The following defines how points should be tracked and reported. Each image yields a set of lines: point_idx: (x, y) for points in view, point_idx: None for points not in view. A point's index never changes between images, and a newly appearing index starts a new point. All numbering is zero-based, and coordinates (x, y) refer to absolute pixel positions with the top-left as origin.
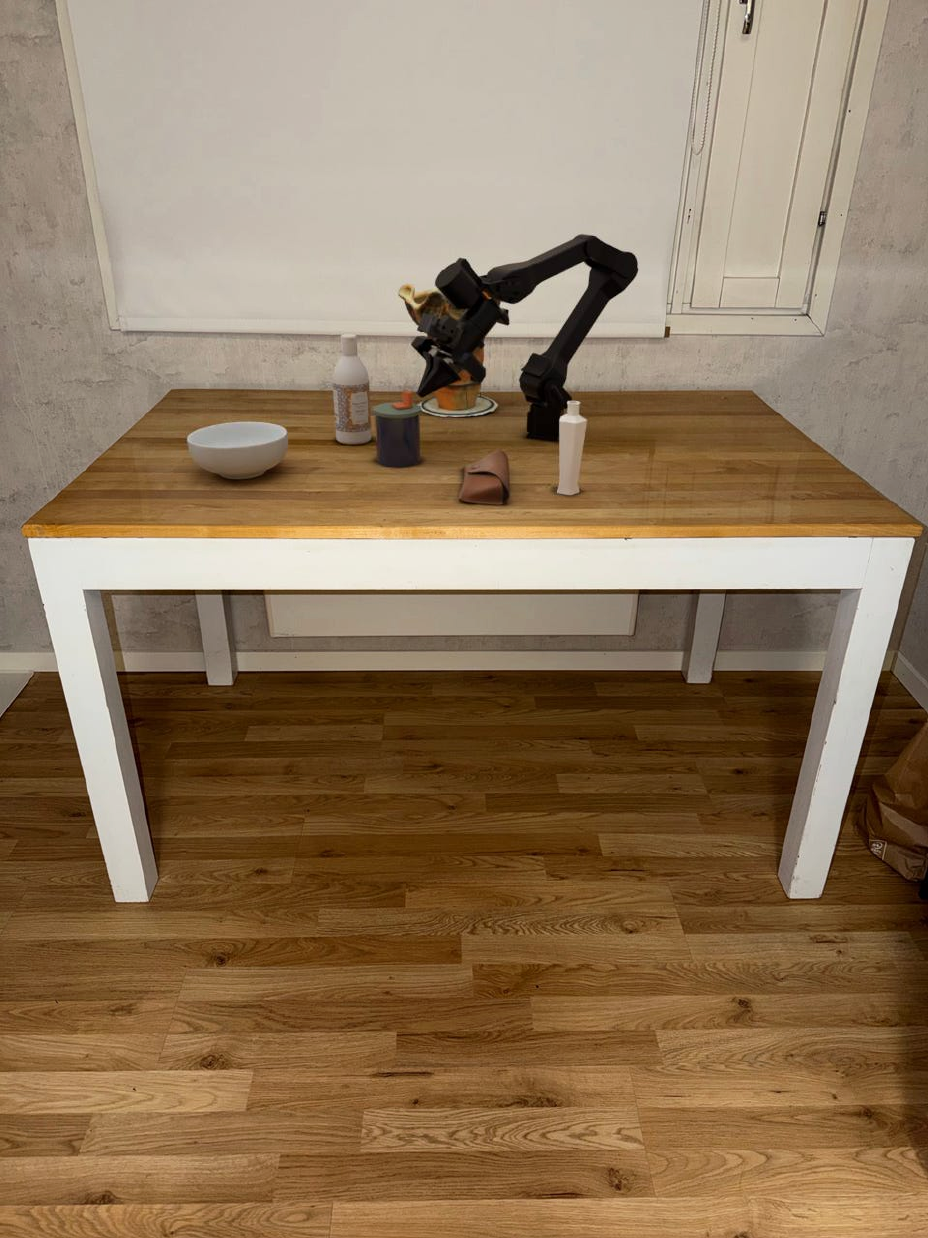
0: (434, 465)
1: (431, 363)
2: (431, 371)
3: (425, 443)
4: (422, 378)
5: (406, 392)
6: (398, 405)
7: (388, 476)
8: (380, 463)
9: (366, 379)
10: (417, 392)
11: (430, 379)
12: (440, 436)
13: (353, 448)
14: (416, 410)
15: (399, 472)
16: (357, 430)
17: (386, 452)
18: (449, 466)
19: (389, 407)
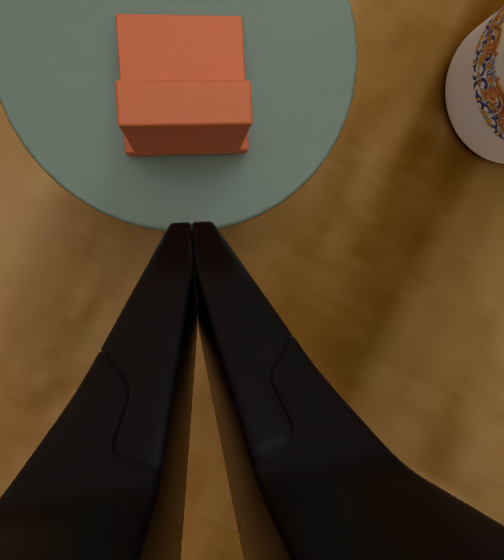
0: (61, 247)
1: (275, 533)
2: (150, 429)
3: (344, 338)
4: (267, 316)
5: (159, 81)
6: (167, 43)
7: None
8: None
9: None
10: (201, 224)
11: (98, 355)
12: (400, 430)
13: (412, 47)
14: (50, 149)
15: None
16: (478, 55)
17: None
18: (21, 298)
19: (221, 1)
